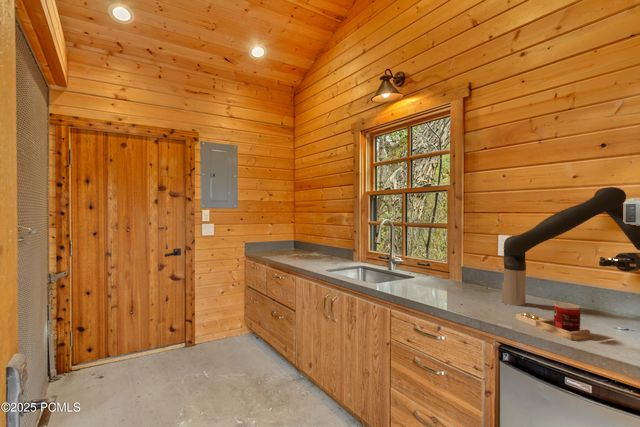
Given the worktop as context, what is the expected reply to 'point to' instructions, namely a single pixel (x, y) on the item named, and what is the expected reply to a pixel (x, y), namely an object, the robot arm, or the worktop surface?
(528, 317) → the steel ball
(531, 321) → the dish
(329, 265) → the worktop surface
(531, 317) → the brass ball
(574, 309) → the canned food
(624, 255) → the robot arm
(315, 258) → the worktop surface
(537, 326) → the birch holder
